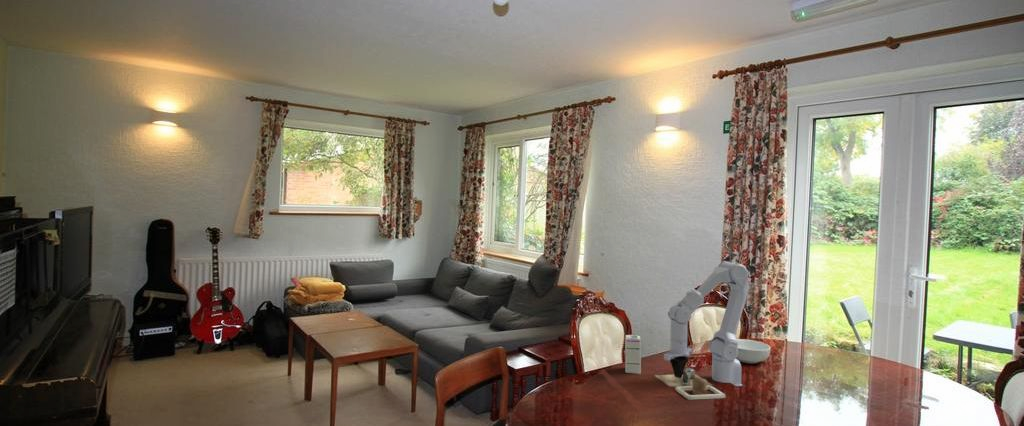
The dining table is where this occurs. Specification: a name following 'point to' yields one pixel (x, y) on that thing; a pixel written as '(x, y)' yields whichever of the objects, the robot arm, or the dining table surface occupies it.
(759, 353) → the cereal bowl
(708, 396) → the tray
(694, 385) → the cylinder
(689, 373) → the crank lever
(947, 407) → the dining table surface
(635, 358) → the syrup box
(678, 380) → the crank board
